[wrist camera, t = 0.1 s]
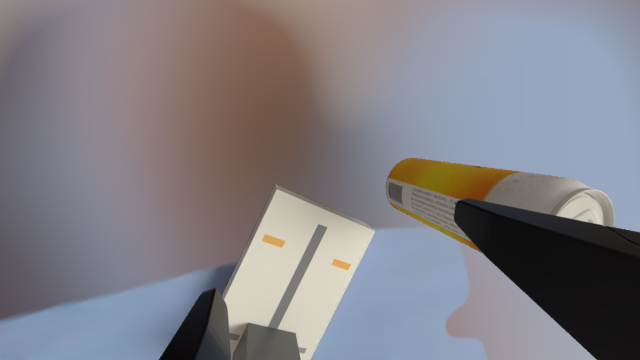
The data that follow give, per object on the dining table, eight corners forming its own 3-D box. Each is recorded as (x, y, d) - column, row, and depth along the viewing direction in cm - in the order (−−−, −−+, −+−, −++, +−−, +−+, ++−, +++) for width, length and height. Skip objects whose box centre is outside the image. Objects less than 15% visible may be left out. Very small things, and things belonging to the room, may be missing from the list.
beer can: (430, 200, 28) (615, 267, 13) (386, 216, 26) (537, 308, 12) (424, 151, 26) (624, 167, 12) (377, 165, 25) (536, 202, 11)
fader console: (295, 360, 27) (299, 381, 24) (199, 342, 23) (192, 365, 21) (364, 222, 26) (375, 231, 23) (275, 183, 22) (276, 189, 20)
